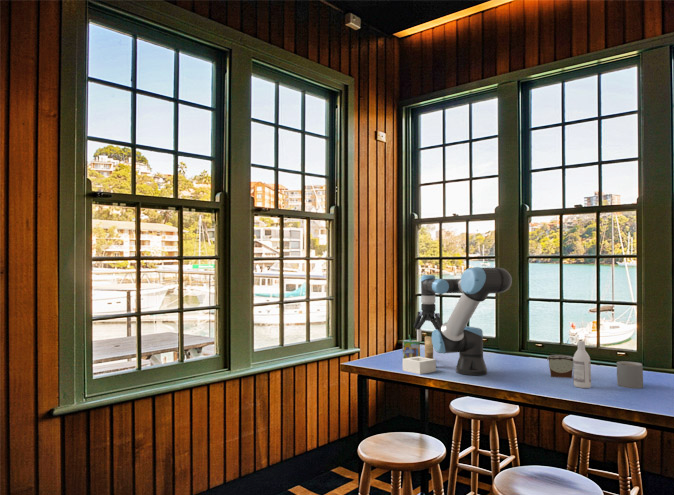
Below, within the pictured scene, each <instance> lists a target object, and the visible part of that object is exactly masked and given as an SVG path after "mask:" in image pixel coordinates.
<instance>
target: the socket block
mask: <svg viewBox="0 0 674 495" xmlns="http://www.w3.org/2000/svg"><path fill="white" fill-rule="evenodd" d="M402 371H403V372H408V373H413V374H416V375H423V374H428V373H434V372H437V360H436V358H433V359H430V358H425V356H424V357H423V356H420V357H419V356H418V357H411V358H404V359H403V358H402Z"/></svg>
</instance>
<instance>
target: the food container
mask: <svg viewBox="0 0 674 495" xmlns="http://www.w3.org/2000/svg"><path fill="white" fill-rule="evenodd" d="M573 357H574V356H571V355H564V354H550V355H548V356H547V361H548V366H549V373H550V378H560V379H561V378H562V379H573Z"/></svg>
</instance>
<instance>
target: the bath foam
mask: <svg viewBox="0 0 674 495" xmlns="http://www.w3.org/2000/svg"><path fill="white" fill-rule="evenodd" d="M572 357H573V372H572V379H573V386H574V387H576V388H578V389H590V388H592V369H591V368H592V367H591V366H592V365H591V357H590V355H589V353H588V352H587V351H586V342H585V341H584V340H578V341H577V350H576V351H575V352H574V354H573V356H572Z"/></svg>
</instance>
